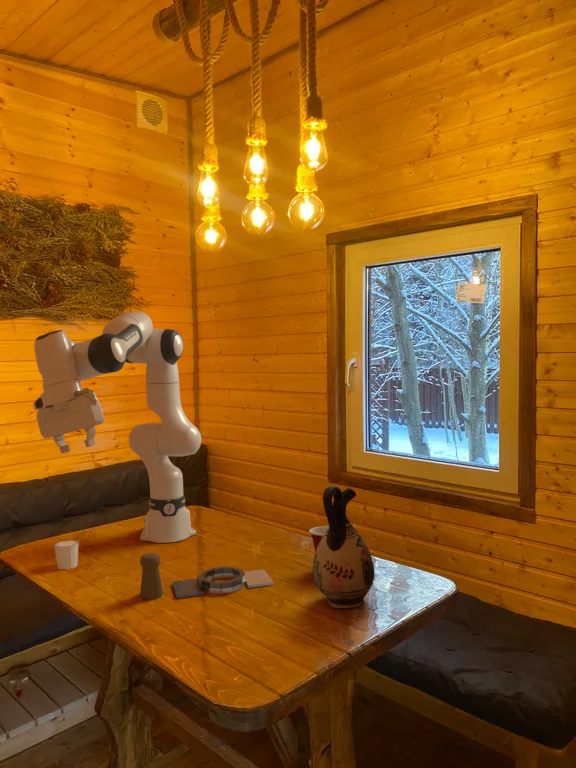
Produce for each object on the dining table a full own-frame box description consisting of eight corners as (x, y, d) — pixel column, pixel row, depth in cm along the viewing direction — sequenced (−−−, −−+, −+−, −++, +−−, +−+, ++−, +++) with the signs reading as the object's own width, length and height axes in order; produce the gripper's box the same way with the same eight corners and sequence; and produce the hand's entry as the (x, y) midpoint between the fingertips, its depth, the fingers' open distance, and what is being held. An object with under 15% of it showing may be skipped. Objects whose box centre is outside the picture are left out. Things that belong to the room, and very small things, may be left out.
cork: (168, 593, 164) (166, 552, 163) (151, 601, 159) (149, 559, 158) (151, 588, 167) (150, 548, 166) (134, 596, 162) (133, 555, 161)
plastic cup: (344, 562, 184) (343, 522, 183) (350, 575, 173) (350, 533, 172) (308, 563, 183) (307, 524, 182) (312, 577, 172) (311, 535, 171)
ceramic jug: (333, 584, 167) (331, 475, 165) (385, 597, 158) (383, 481, 156) (297, 607, 153) (295, 488, 151) (352, 623, 144) (350, 496, 142)
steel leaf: (197, 579, 172) (197, 575, 172) (262, 570, 178) (262, 566, 178) (204, 596, 161) (204, 591, 161) (274, 586, 167) (274, 581, 167)
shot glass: (84, 564, 187) (83, 541, 187) (66, 571, 181) (65, 548, 181) (68, 560, 190) (66, 538, 190) (50, 568, 184) (49, 545, 184)
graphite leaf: (171, 583, 170) (171, 573, 170) (239, 574, 176) (238, 564, 176) (177, 600, 159) (177, 589, 159) (249, 589, 165) (249, 579, 164)
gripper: (102, 384, 151) (116, 439, 150) (49, 401, 161) (62, 453, 161) (82, 387, 145) (96, 445, 145) (28, 405, 156) (41, 458, 155)
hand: (78, 449), depth 153 cm, fingers open, 8 cm apart
